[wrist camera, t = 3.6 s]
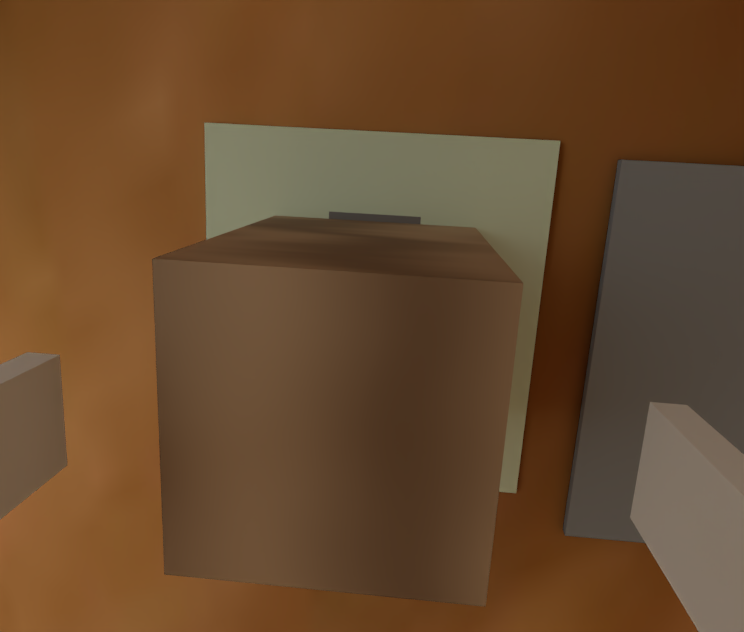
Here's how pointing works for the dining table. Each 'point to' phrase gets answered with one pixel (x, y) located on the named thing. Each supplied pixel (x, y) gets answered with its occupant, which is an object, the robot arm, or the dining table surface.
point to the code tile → (399, 202)
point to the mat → (659, 329)
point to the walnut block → (335, 405)
